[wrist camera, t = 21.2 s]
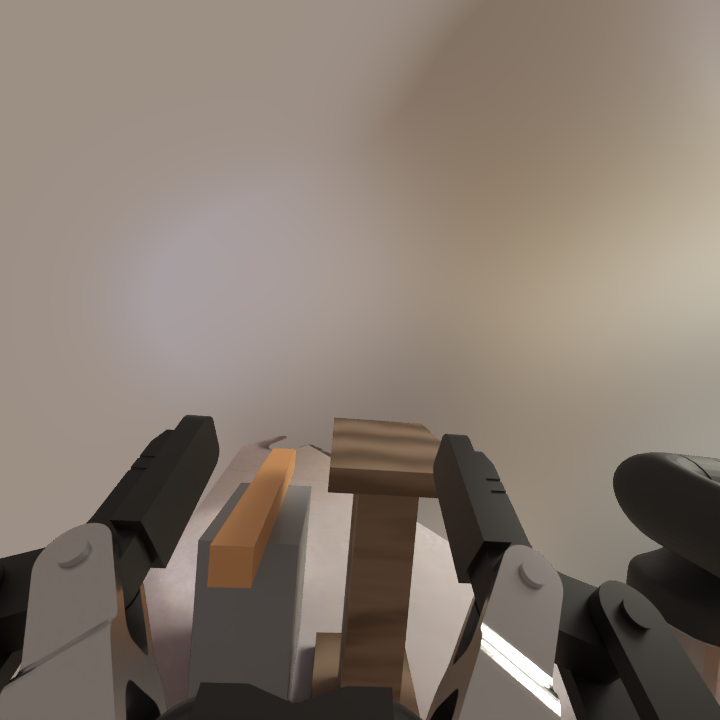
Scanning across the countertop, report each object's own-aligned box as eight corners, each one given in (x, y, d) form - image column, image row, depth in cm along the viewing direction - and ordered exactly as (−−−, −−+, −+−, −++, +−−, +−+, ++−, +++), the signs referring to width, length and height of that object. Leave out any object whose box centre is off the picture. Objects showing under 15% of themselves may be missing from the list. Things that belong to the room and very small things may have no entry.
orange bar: (250, 588, 25) (253, 546, 25) (207, 586, 24) (209, 545, 24) (294, 470, 49) (295, 449, 49) (272, 469, 48) (273, 447, 48)
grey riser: (283, 740, 31) (299, 544, 31) (184, 741, 31) (198, 540, 30) (300, 626, 44) (311, 486, 44) (230, 624, 44) (241, 482, 43)
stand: (441, 848, 25) (477, 475, 24) (297, 852, 24) (330, 467, 23) (400, 648, 42) (421, 423, 41) (315, 646, 41) (334, 417, 40)
